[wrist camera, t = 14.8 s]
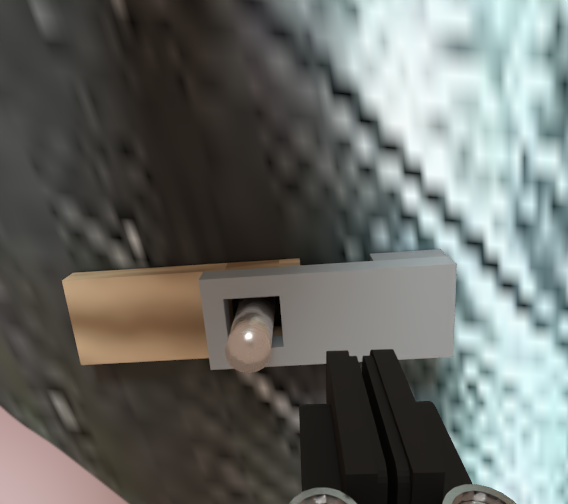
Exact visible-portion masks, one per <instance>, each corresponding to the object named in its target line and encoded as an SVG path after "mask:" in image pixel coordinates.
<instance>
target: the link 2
mask: <svg viewBox="0 0 568 504" xmlns="http://www.w3.org/2000/svg"><path fill="white" fill-rule="evenodd" d="M456 266H457V264H456V263H455V262H454V261H453V260H452V259H451V258H450V257H448V256H447V255H446V254H445V253H444V252H443V251H442V250H441V249H437V250H421V251H406V252H390V253H374V254H370V261H364V262H348V263H332V264H317V265H301V266H285V267H269V268H254V269H238V270H222V271H206V272H203V273H202V275H201V277H200V278H199V288H200V295H201V302H202V310H203V317H204V325H205V332H206V339H207V347H208V354H209V361H210V369H211V370H219V369H234V368H233V367H232V366H231V365H230V364H229V363H228V361H227V359H226V356H225V347H226V344H227V340H228V337H229V334H230V331H231V322H230V314H229V305H228V299H237V298H253V297H269V296H280V308H281V320H282V332H283V336H272V345H271V354H270V359H269V362H268V363H267V365H266V366H265V367H274V366H293V365H311V364H326V351H342V350H348V352H349V356H357V358H358V362H362V358H363V356H369V355H370V351H371V350H378V349H393V350H394V352H395V354H396V356H397V359H398V360H404V359H422V358H441V357H453V350H454V322H455V294H456Z"/></svg>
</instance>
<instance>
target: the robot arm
mask: <svg viewBox="0 0 568 504" xmlns="http://www.w3.org/2000/svg"><path fill="white" fill-rule="evenodd" d="M326 399H327V404H305V405H299V416H300V447H301V476H302V493H300V494H299V495H297V496H296V497H294V498H293V500H292V501H291V502H290V503H289V504H516V503H515V502H514V501H513V500H512V499H510V498H509V497H507V496H506V495H504V494H503V493H501V492H499V491H497V490H494V489H492V488H490V487H486V486H482V485H477V484H472V482H471V480H470V478H469V476H468V474H467V472H466V469H465V467H464V465H463V463H462V461H461V459H460V457H459V455H458V453H457V451H456V449H455V447H454V444H453V442H452V440H451V438H450V436H449V434H448V432H447V430H446V428H445V426H444V424H443V422H442V419H441V417H440V415H439V413H438V411H437V409H436V407H435V405H434V404H433V403H432V402H431V401H420V402H416V401H415V399H414V396H413V394H412V392H411V389H410V387H409V385H408V382H407V380H406V378H405V375H404V373H403V370H402V368H401V366H400V363H399V361H398V359H397V356H396V354H395V352H394V350H393V349H378V350H371V351H370V355H369V356H363V358H362V373H361V369H360V366H359V362H358V358H357V356H349V352H348V350H342V351H326Z"/></svg>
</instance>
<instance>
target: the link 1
mask: <svg viewBox="0 0 568 504" xmlns="http://www.w3.org/2000/svg"><path fill="white" fill-rule="evenodd" d="M285 266H300V258H297V259H281V260H265V261H250V262H234V263H219V264H203V265H187V266H172V267H156V268H141V269H125V270H109V271H94V272H78V273H72V274H71V275H69V276H68V277H66V278H65V279H64V280H62V283H63V288H64V292H65V297H66V301H67V305H68V310H69V314H70V319H71V323H72V327H73V332H74V336H75V341H76V345H77V349H78V354H79V358H80V362H81V365H92V364H110V363H128V362H146V361H165V360H183V359H201V358H209V354H208V347H207V339H206V332H205V325H204V317H203V310H202V302H201V295H200V288H199V278H200V277H201V275H202V273H203V272H206V271H222V270H238V269H254V268H269V267H285ZM228 305H229V314H230V322H231V327H232V324H233V321H234V312H233V304H232V299H228ZM272 336H283V332H282V326H273V335H272Z"/></svg>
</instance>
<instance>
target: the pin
mask: <svg viewBox="0 0 568 504" xmlns="http://www.w3.org/2000/svg"><path fill="white" fill-rule="evenodd" d="M275 306H276V300H275V297H274V296H269V297H253V298H240V301H239V304H238V308H237V311H236V314H235V318H234V321H233V324H232V327H231V331H230V334H229V337H228V340H227V344H226V347H225V356H226V359H227V361H228V363H229V364H230V365H231V366H232V367H233V368H234V369H236V370H238V371H240V372H244V373H253V372H257V371H259V370H261V369H262V368H264V367H265V366H266V365H267V363H268V362H269V359H270V354H271V345H272V335H273V326H274V316H275Z"/></svg>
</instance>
